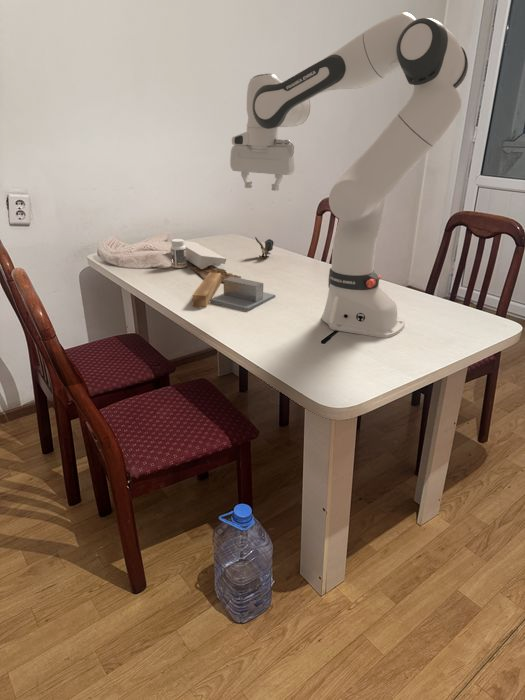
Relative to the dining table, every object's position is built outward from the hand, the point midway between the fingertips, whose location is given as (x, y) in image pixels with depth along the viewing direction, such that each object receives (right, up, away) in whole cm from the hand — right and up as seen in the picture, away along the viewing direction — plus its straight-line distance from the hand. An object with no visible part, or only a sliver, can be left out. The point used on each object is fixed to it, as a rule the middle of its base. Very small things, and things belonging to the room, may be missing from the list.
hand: (261, 189), depth 151 cm
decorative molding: (-21, -10, +51) cm, 56 cm away
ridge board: (-6, -33, +6) cm, 34 cm away
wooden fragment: (-14, -21, +33) cm, 42 cm away
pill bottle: (-31, -16, +40) cm, 54 cm away
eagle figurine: (+1, -12, +52) cm, 53 cm away
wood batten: (-17, -30, +11) cm, 37 cm away
